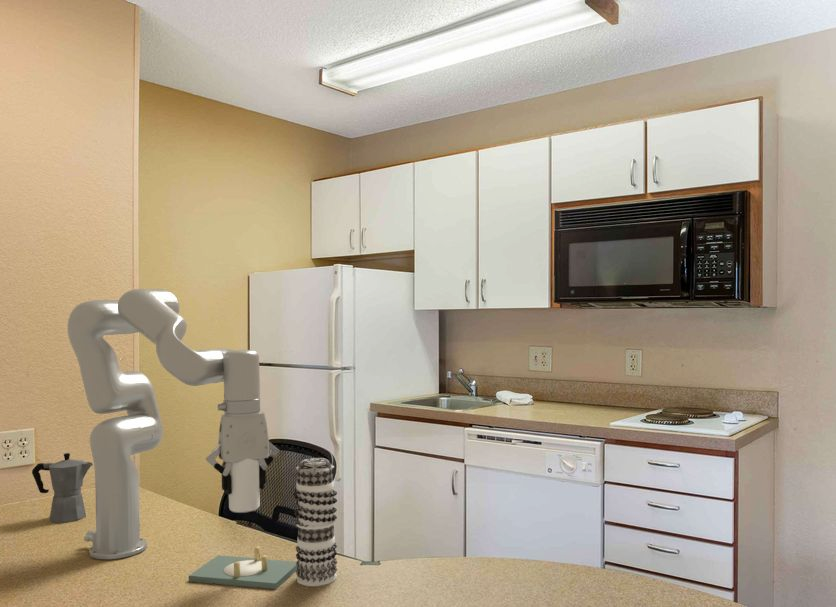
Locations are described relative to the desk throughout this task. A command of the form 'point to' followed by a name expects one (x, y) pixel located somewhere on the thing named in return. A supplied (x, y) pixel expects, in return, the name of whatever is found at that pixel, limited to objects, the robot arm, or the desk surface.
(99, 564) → the desk surface
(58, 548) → the desk surface
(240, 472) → the can
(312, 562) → the decorative candle
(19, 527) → the desk surface
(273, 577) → the green board with pegs
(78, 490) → the coffeepot
